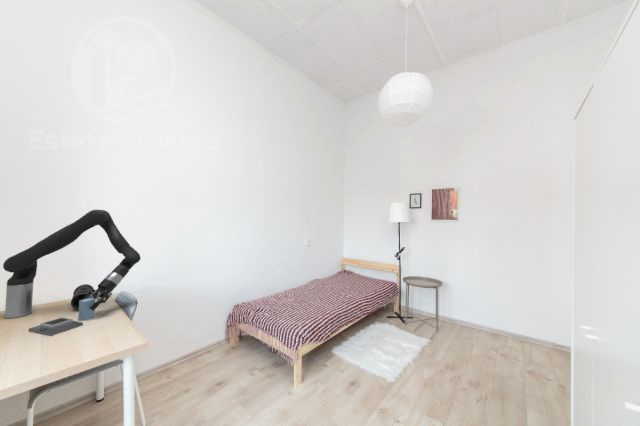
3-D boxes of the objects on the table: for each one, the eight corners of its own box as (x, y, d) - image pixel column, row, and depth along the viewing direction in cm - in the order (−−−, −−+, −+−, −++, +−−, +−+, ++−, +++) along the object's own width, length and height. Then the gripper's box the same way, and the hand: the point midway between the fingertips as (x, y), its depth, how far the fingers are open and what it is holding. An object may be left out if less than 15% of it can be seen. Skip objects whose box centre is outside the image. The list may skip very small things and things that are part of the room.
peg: (78, 319, 127) (79, 300, 127) (88, 316, 131) (89, 298, 131) (84, 320, 125) (85, 301, 126) (94, 317, 130) (95, 299, 130)
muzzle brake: (69, 313, 136) (70, 294, 136) (73, 300, 156) (74, 284, 157) (92, 309, 142) (93, 291, 143) (93, 297, 163) (94, 282, 163)
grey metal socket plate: (28, 331, 113) (28, 324, 113) (61, 321, 124) (62, 314, 125) (50, 336, 109) (50, 328, 109) (82, 325, 120) (83, 318, 120)
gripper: (97, 277, 139) (71, 303, 127) (114, 279, 135) (89, 306, 124) (107, 284, 144) (82, 310, 132) (124, 286, 140) (100, 313, 128)
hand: (86, 308), depth 128 cm, fingers open, 8 cm apart
